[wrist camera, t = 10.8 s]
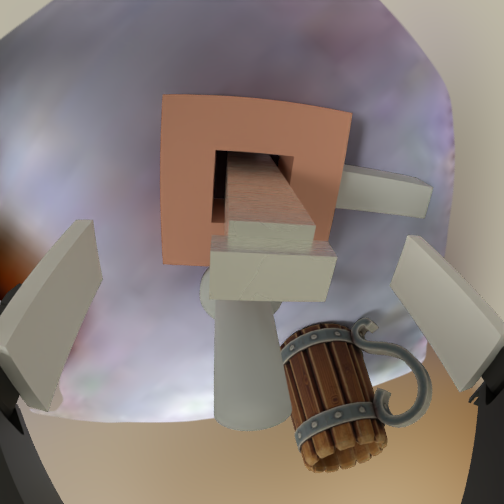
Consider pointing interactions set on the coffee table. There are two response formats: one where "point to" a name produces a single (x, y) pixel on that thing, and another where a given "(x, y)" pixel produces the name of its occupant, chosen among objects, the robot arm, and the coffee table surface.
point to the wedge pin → (266, 239)
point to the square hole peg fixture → (213, 218)
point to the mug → (343, 394)
